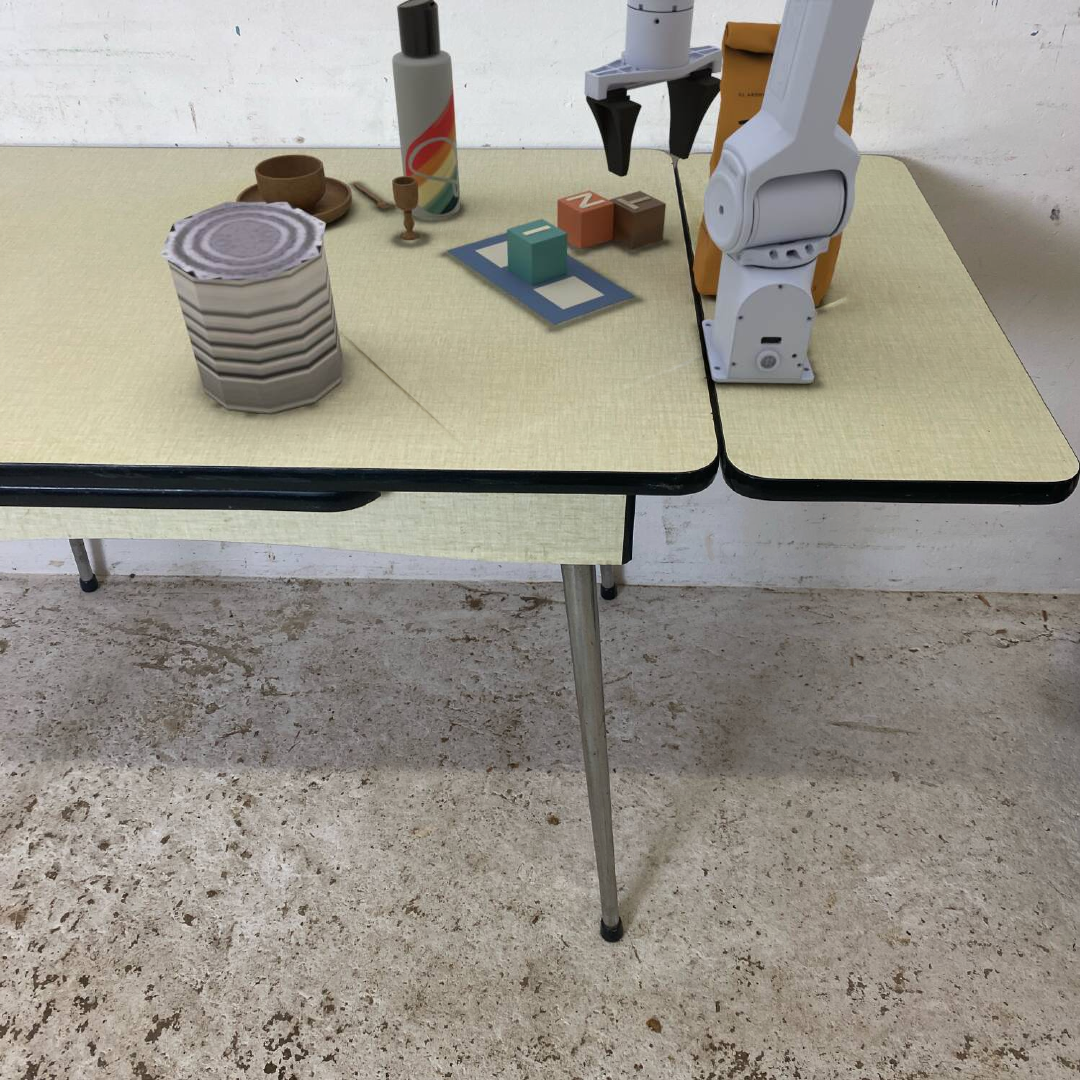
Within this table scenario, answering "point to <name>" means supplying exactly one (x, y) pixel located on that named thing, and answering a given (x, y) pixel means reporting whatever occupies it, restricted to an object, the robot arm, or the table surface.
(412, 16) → the lotion bottle
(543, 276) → the tile
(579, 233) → the orange letter cube
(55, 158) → the table surface
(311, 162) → the place setting
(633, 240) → the brown letter t cube
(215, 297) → the can
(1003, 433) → the table surface
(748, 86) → the coffee package
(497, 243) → the word mat
